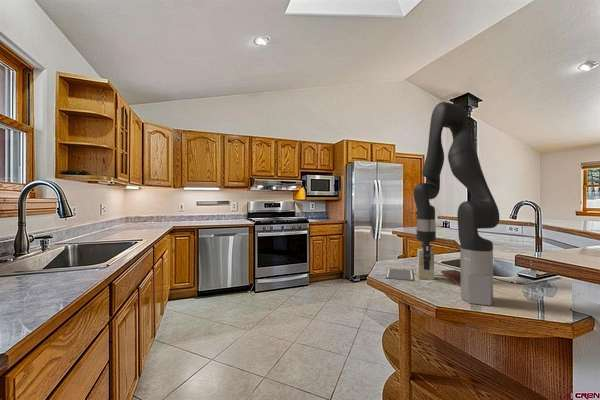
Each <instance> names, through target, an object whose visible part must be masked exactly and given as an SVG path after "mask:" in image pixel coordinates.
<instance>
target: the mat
mask: <svg viewBox="0 0 600 400" xmlns="http://www.w3.org/2000/svg"><path fill="white" fill-rule="evenodd" d="M386 271H387V272H386V275H385V279H390V280H400V281H401V280H402V281H411V282H413V281H415V280H414V272H413V270H411V269H398V268H387V270H386Z"/></svg>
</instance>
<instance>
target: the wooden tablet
mask: <svg viewBox="0 0 600 400" xmlns="http://www.w3.org/2000/svg"><path fill="white" fill-rule="evenodd" d="M440 271H441V272H440V274H442V275H443V276H445V277H447V278H448V279H449V280H450V281H451V282H454V283H455V285H457V286H458V287H460V288H461V271H460V270H457V269H450V270H449V269H448V270H446V269H445V270H443V271H442V270H440Z"/></svg>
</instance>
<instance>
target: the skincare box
mask: <svg viewBox="0 0 600 400" xmlns="http://www.w3.org/2000/svg"><path fill="white" fill-rule="evenodd" d="M423 252H424V250H423ZM425 257H428V256H425ZM430 258H431V260H430V270H424V260H423V256H422V249H421V248H417V265H416V266H417V267H416V268H417V269H416V270H417V271H416V274H417V275H416V276H417V278H418V279H420V280H431V281H434V280H435V250H433V249H431V256H430Z"/></svg>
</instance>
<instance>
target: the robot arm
mask: <svg viewBox="0 0 600 400" xmlns="http://www.w3.org/2000/svg"><path fill="white" fill-rule="evenodd" d="M429 124H430V125H429V133H428V134H429V135H428V142H427V143H428V145H427V152H426V157H425V160H424V164H423V168H422V171H421V173H422V176H423V177H425V182H420V183H418V184H416V185H415V187H414V189H413V198H414V203H415V206H416V210H417V211H416V214H417V215H416V218H417V219H416V240H417V241H419V242H421V244H420V249H422V256H423V260H424V270H430V260H431V258H430V256H431V250H432V244H430V243H431V242H433V243H434V242H436V240H437V232H436V231H437V225H436V207H435V206H433V205H432V204H431V203H430V202H431V201H430V200H434V199H436V198H437V197H438V195H439V193H440V189H441V173H442V170H443V167H444V163H445V152H444V147H443V143H442V142H443V141H442V134H443V130H444V128H446V129H449V131H450V132H451V135H452V144H451V146H450V147H449V150H448V153H447V160H448V164H449V167H450V171H451V173H452V175H453V176H454V177H455V179H456V180H457V181H459V183H461V184H462V186H464V187H465V188H466V189H467V190H468V192H469V193H470V195H471V196H472V198H473V200H472V201H470V200H469V201H468V200H467V201H466V200H465V201H463V202H461V203H460V204H459V206H458V209H457V230H458V231H457V233H458V240H459V243H460V244H459V245H460V247H459V249H460V250H459V251H460V252H459V254H460V258H459V259H460V261H459V263H460V266H459V267H460V270H459V271H460V272H461V287H460V299H461V300H462V301H464V302H468V304H471V305H481V306H482V305H483V306H489V307H490V306H492V304H494V243H493V242H492V241H491V240H489V239H487V238H484V237H482V236H481V235H480V234H479V229H493V228H495V227H497V226H498V225H499V223H500V211H499V207H498V205H497V203H496V201H495V199H494V196H493V194H492V192H491V190H490V187H489V185H488V183H487V181H486V177H485V175H484V173H483V172H484V171H483V169H482V167H481V162H480V159H479V156H478V152H477V151H476V149H475V145H474V142H473V138H472V134H471V130H470V124H469V120H468V115H467V111H466V109H465V107H464V106H463V105H460V104H457V103H452V102H451V103H450V102H447V101H446V102H445V101H442V102H441V101H440V102H439V103H438V104H436V105H435V107H434V108H433V111H432V113H431V117H430V123H429ZM423 250H424V252H423ZM425 256H428V257H425Z"/></svg>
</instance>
